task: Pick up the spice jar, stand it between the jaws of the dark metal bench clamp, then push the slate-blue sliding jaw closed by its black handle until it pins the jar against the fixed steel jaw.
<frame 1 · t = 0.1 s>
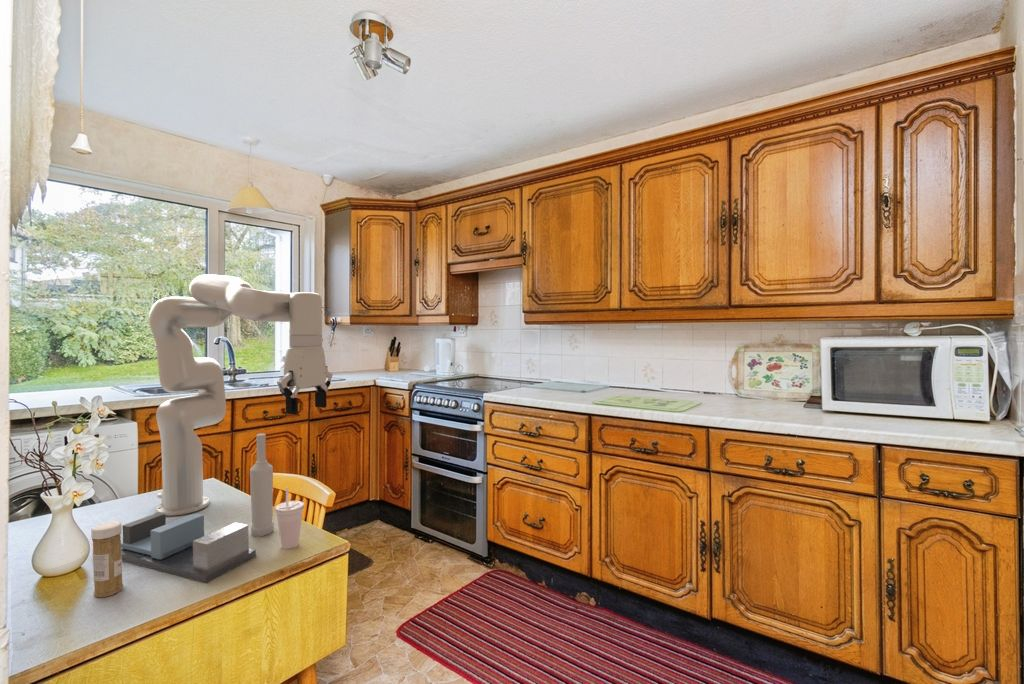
hand: (306, 410, 120), 31 cm above the table, tool pointing down, fingers open, 9 cm apart
spice jar: (108, 592, 95), on the table
bottle: (262, 532, 122), on the table
clamp base: (196, 560, 107), on the table
sliding jaw: (161, 531, 111), point 5 cm above the table, slide at 0.0 cm
smoothie: (290, 546, 115), on the table
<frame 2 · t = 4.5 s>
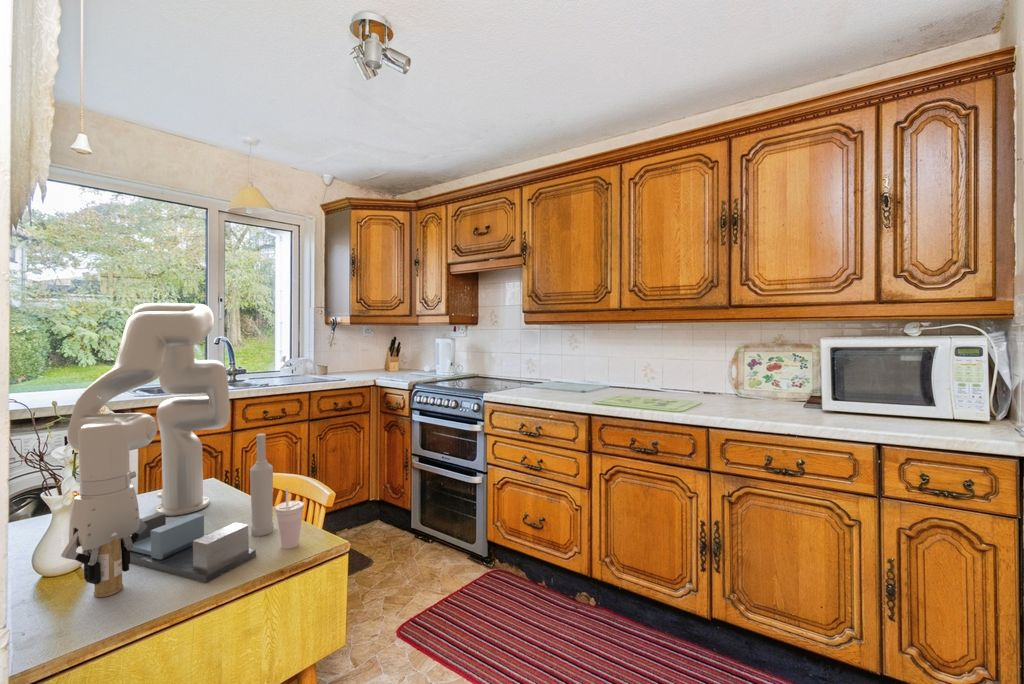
hand: (108, 575, 94), 3 cm above the table, tool pointing down, fingers closed on spice jar, 4 cm apart
spice jar: (108, 592, 95), on the table, touching gripper
everything else where it was.
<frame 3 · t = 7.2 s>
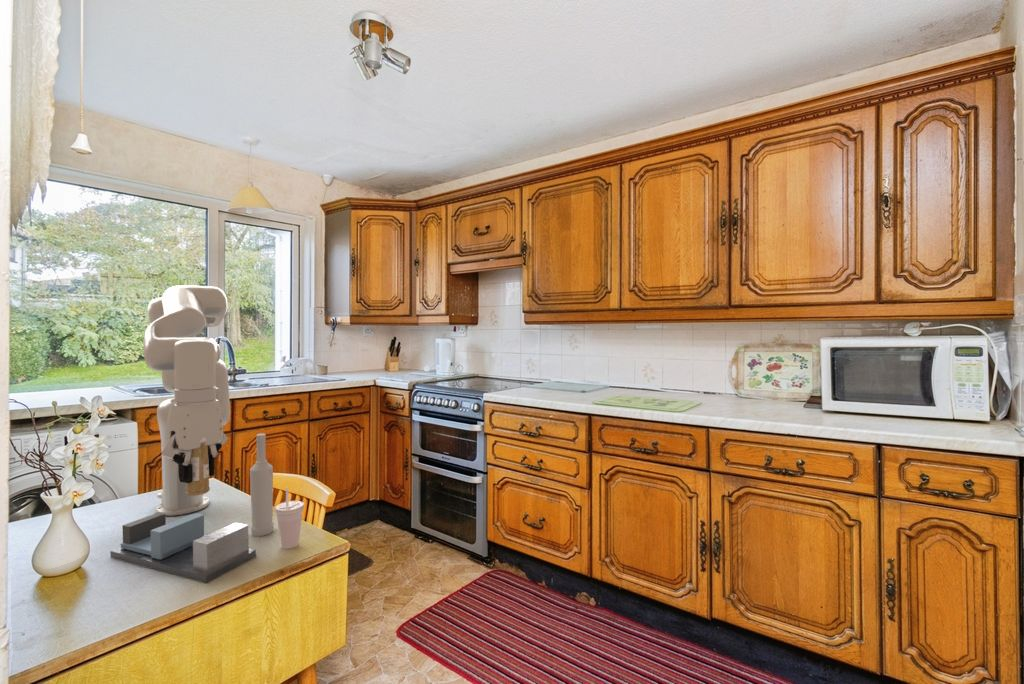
hand: (197, 477, 105), 19 cm above the table, tool pointing down, fingers closed on spice jar, 4 cm apart
spice jar: (197, 493, 106), point 15 cm above the table, touching gripper
everything else where it was.
when the fingers open (6 cm above the table, at t = 10.2 s): spice jar stays where it is, resting on clamp base.
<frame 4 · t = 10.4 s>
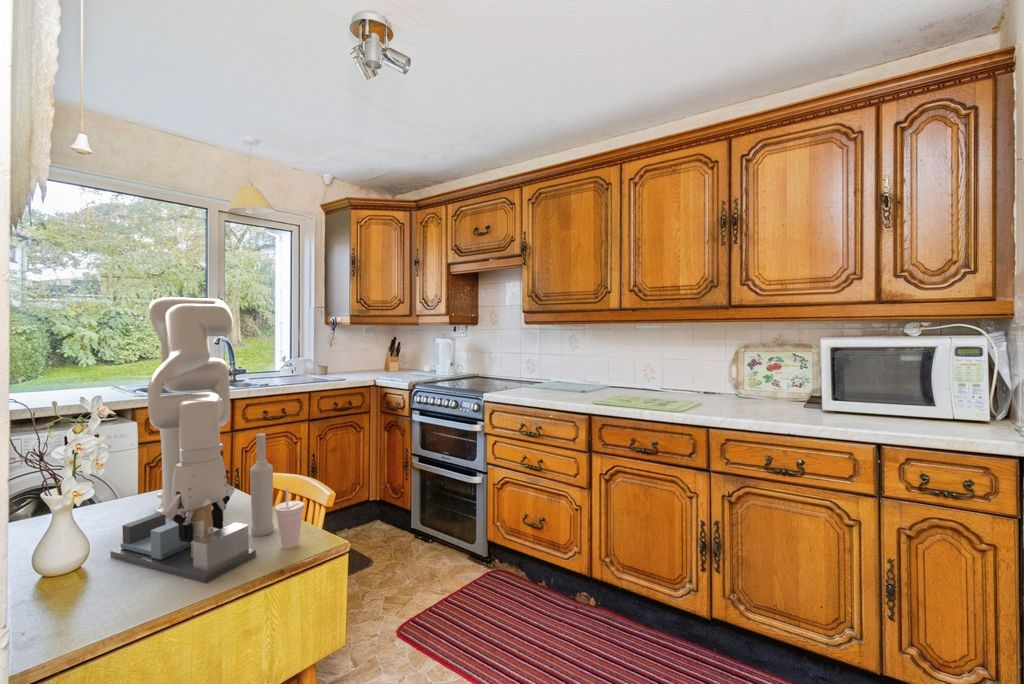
hand: (202, 533, 106), 6 cm above the table, tool pointing down, fingers open, 6 cm apart
spice jar: (202, 555, 107), point 1 cm above the table, touching clamp base
everything else where it was.
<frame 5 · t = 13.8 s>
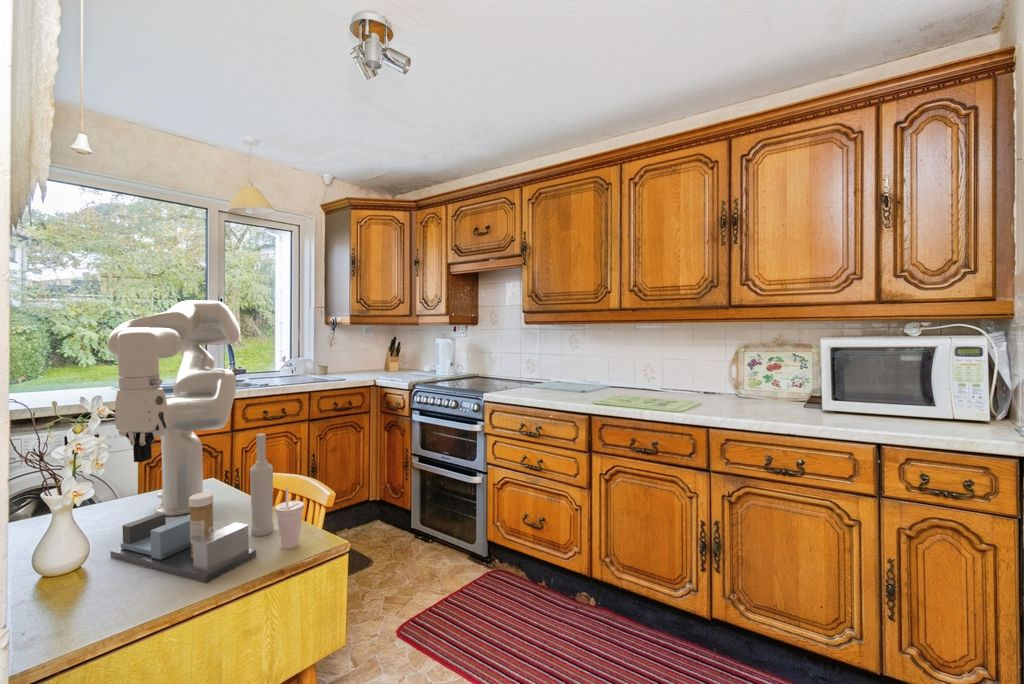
hand: (142, 460, 113), 21 cm above the table, tool pointing down, fingers closed
nothing on the table moved.
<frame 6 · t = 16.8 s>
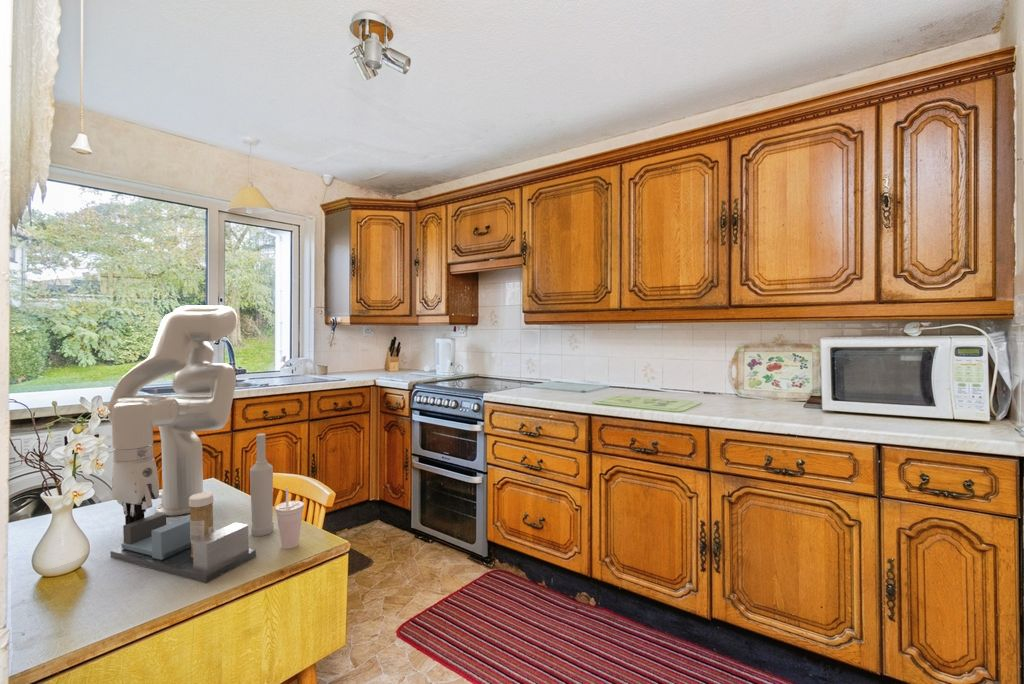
hand: (135, 530, 114), 4 cm above the table, tool pointing down, fingers closed
sliding jaw: (162, 531, 111), point 5 cm above the table, slide at 0.3 cm, touching gripper
everything else where it was.
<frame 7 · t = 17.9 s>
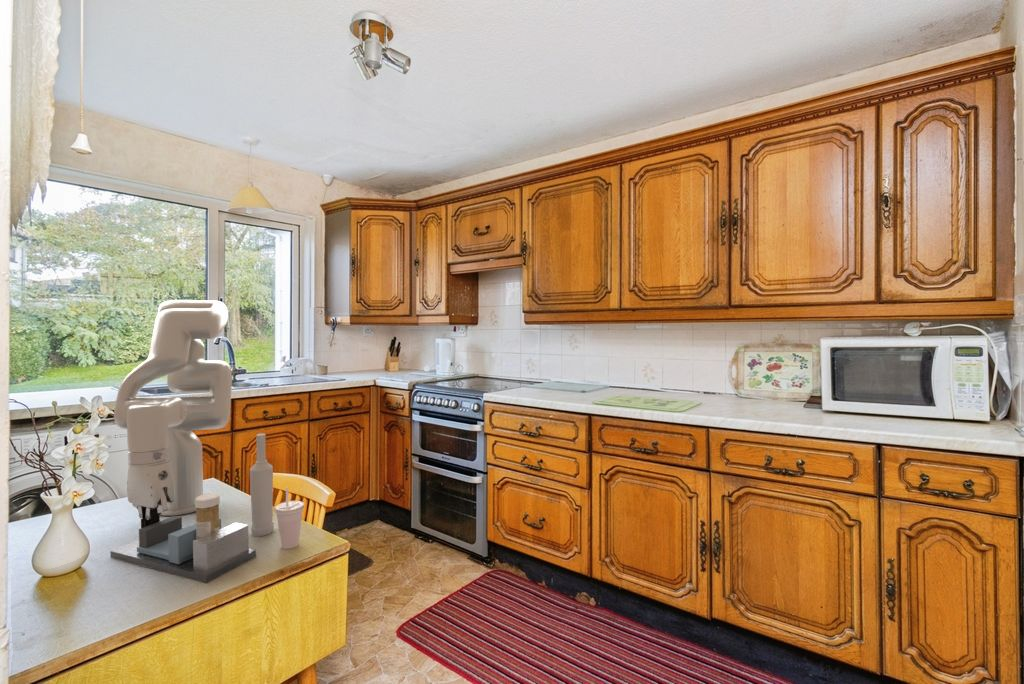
hand: (150, 533, 112), 4 cm above the table, tool pointing down, fingers closed
spice jar: (208, 556, 106), point 1 cm above the table, touching clamp base, sliding jaw
sliding jaw: (178, 535, 109), point 5 cm above the table, slide at 5.6 cm, touching gripper, spice jar
everything else where it was.
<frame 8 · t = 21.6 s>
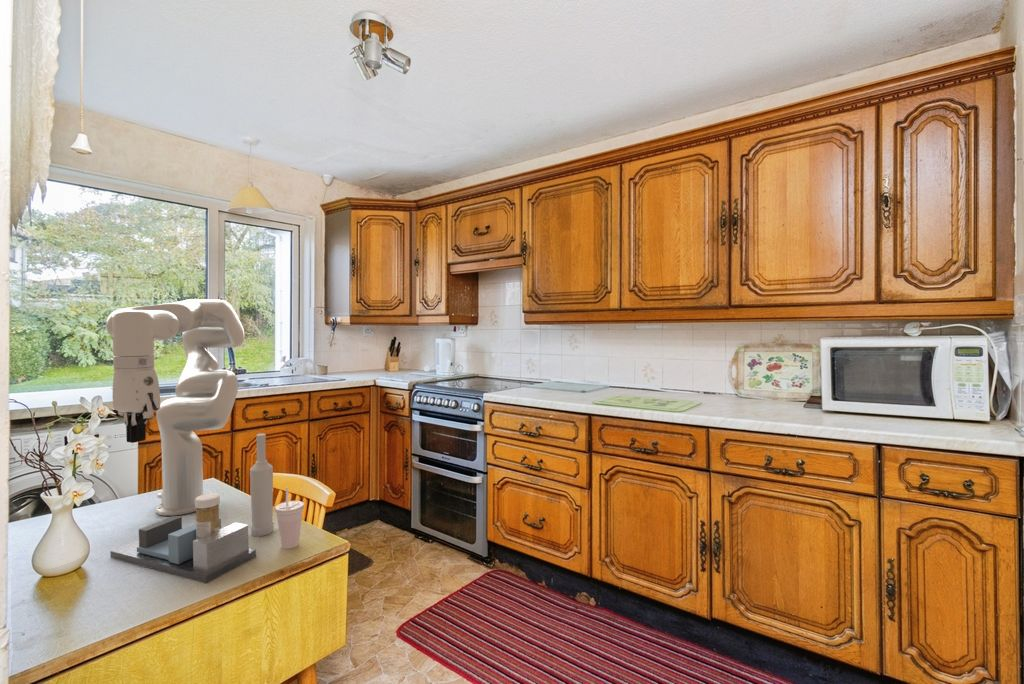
hand: (136, 441, 113), 25 cm above the table, tool pointing down, fingers closed
spice jar: (208, 556, 106), point 1 cm above the table, touching clamp base
sliding jaw: (178, 535, 109), point 5 cm above the table, slide at 5.5 cm
everything else where it was.
at the end: spice jar 0.5 cm from the target spot on the clamp base, point 1.3 cm above the clamp base's base; spice jar tilted 0°; sliding jaw slide at 5.5 cm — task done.
